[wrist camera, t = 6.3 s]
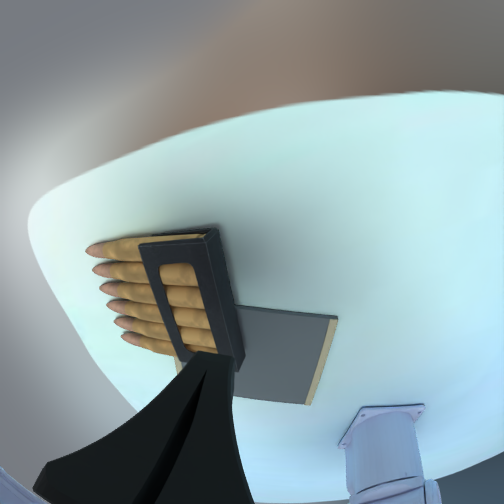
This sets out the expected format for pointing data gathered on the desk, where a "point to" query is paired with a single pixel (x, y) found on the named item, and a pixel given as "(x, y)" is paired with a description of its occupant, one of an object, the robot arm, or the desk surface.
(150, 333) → the ammunition clip
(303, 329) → the mat
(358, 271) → the desk surface
